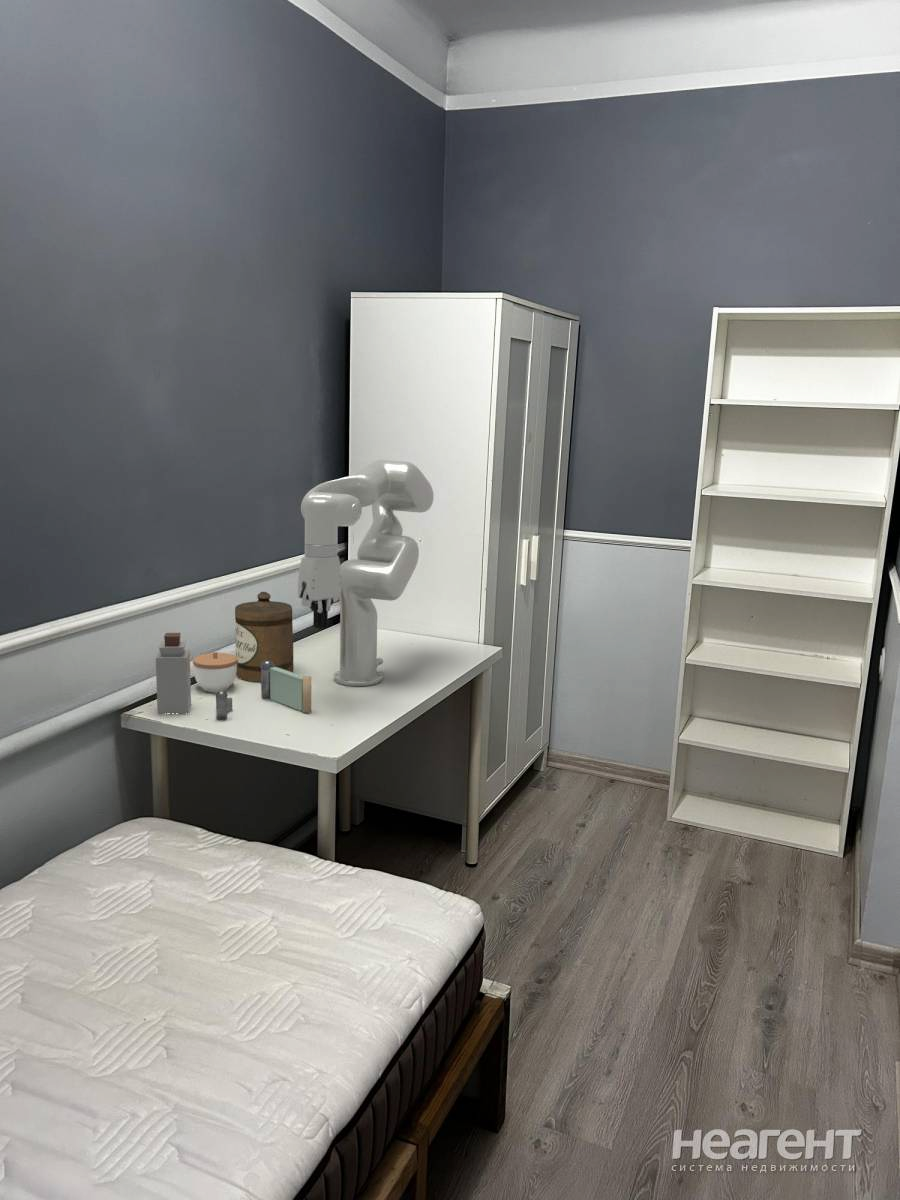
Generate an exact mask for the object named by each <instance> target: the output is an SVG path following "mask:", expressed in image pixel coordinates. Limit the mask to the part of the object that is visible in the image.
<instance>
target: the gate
mask: <svg viewBox="0 0 900 1200" xmlns="http://www.w3.org/2000/svg"><path fill="white" fill-rule="evenodd" d="M270 700H271V701H273V702H277V703H279V704H282V705H286V706H288V707H289V708H293V709H295V710H298V711H301V712H303V713H307V714H309V713H311V712H312V677H311V676H304V675H300V674H299V673H296V672H295V673H294V672H293V673H292V672H289V671H286V670H284V669H281V668H278V667H273V668H270Z"/></svg>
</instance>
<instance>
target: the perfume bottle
mask: <svg viewBox="0 0 900 1200" xmlns="http://www.w3.org/2000/svg"><path fill="white" fill-rule="evenodd" d="M163 638H164V639H163V640H162V641H161V642H160V644H159V647H158V649H159V650H158V652H157V654H156V656H155V674H156V675H155V676H156V678H155V679H156V703H157V704H156V705H157V710H156V711H157V715H158V714H165V713H166V714H167V713H170V714H172V713H174V714H176V713H178V715H189V714H190V710H191V707H190V706H192V692H191V691H192V689H191V686H192V685H191V651H190V649H188V648H187V649H185V648H186V643H187V640H181V632H166V633H165V634H164V636H163ZM189 709H190V710H189ZM186 713H187V714H186ZM188 713H189V714H188Z"/></svg>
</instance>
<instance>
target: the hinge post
mask: <svg viewBox="0 0 900 1200" xmlns="http://www.w3.org/2000/svg"><path fill="white" fill-rule="evenodd" d="M273 667H274V664H273V662H272V661H270V660H265V661H263V662H262V663H261V682H260V683H261V684H260V687H261V688H260V691H261V692H260V694H261V695H260V696H261V699H262V700H265V701H266V700H267V701H269V700H271V699H270V668H273Z"/></svg>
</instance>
